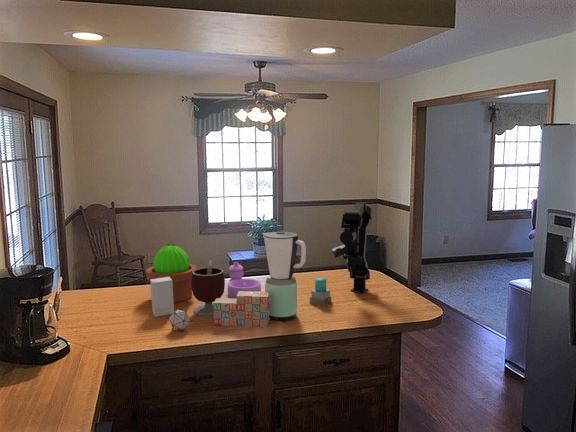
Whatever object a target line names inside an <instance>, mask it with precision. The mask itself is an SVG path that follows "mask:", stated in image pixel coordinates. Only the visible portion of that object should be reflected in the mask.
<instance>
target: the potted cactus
mask: <svg viewBox="0 0 576 432" xmlns="http://www.w3.org/2000/svg"><path fill="white" fill-rule="evenodd" d="M189 259H190V258H189V255H188V253H187V251H185V250H184V249H183V248H182V247H180V246H178V245H177V244H166V245H165V246H163V247H161V248H160V249H158V251H157V252H156V254H155V255H154V259H153V262H152V266H151V267H148V268H147V269H146V270H145V274H146V276H145V277H146V280H147V281H150V279H157V278H163V277H170V278H171V279H172V284H173V301H174V303H179V302H184V301H186V300H189V299H191V297H192V296H193V292H192V287H191V279H192V272H193V271H194V270H196V269H198V268H197V265H195V264H192V263H190V261H189Z"/></svg>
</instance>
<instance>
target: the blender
mask: <svg viewBox="0 0 576 432" xmlns="http://www.w3.org/2000/svg"><path fill="white" fill-rule="evenodd" d="M261 234H262V237H263V239H264V246H265V247H264V248H265V254H266V259H267V266H268V272H269V275H268V276H267V277H266V280H265V284H264V292H269V320H271V319H272V320H273V319H274V320H282V321H283V322H289V319H292V318H294V317H295V316H296V315H297V313H298V283H297V279H296V277H295V276H294V272H295V271H294V270H295V269H301V268H302V267H304V266H305V263H306V258H307V248H306V246H307V245H306V243H305V242H304V240H300V239H299V235H298V233H296V232H291V231H272V232H271V231H270V232H262V233H261ZM299 245H300V247H301V249H300V250H301V251H300V262H299V263H296V261H297V254H298V253H297V251H298V246H299Z"/></svg>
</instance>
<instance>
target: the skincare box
mask: <svg viewBox="0 0 576 432" xmlns="http://www.w3.org/2000/svg"><path fill="white" fill-rule="evenodd" d="M150 295H151V297H150V298H151V311H152V314H153V316H154V317H161V316H162V317H163V316H168V315H172V314H173V313H174V312H175V304H174V303H175V302H174V301H173V284H172V279H171V278H170V277H163V278H157V279H150Z"/></svg>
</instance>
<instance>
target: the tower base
mask: <svg viewBox="0 0 576 432" xmlns="http://www.w3.org/2000/svg"><path fill="white" fill-rule="evenodd" d="M331 303H332V295H330V297H328V298H326V299H324V300H320V299H316V298H312V297H309V304H311V305H315V306H320V307H321V306H322V307H325V306H327V305H328V304H331Z"/></svg>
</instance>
